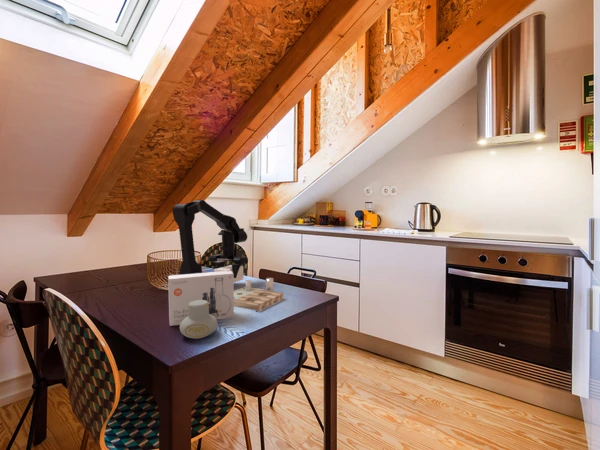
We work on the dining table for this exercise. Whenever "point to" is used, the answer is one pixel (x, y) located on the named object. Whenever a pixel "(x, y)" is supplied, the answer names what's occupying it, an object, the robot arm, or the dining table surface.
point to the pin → (269, 284)
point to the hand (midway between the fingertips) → (229, 277)
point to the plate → (245, 290)
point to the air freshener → (198, 320)
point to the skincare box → (201, 294)
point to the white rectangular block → (229, 268)
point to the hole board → (259, 300)
